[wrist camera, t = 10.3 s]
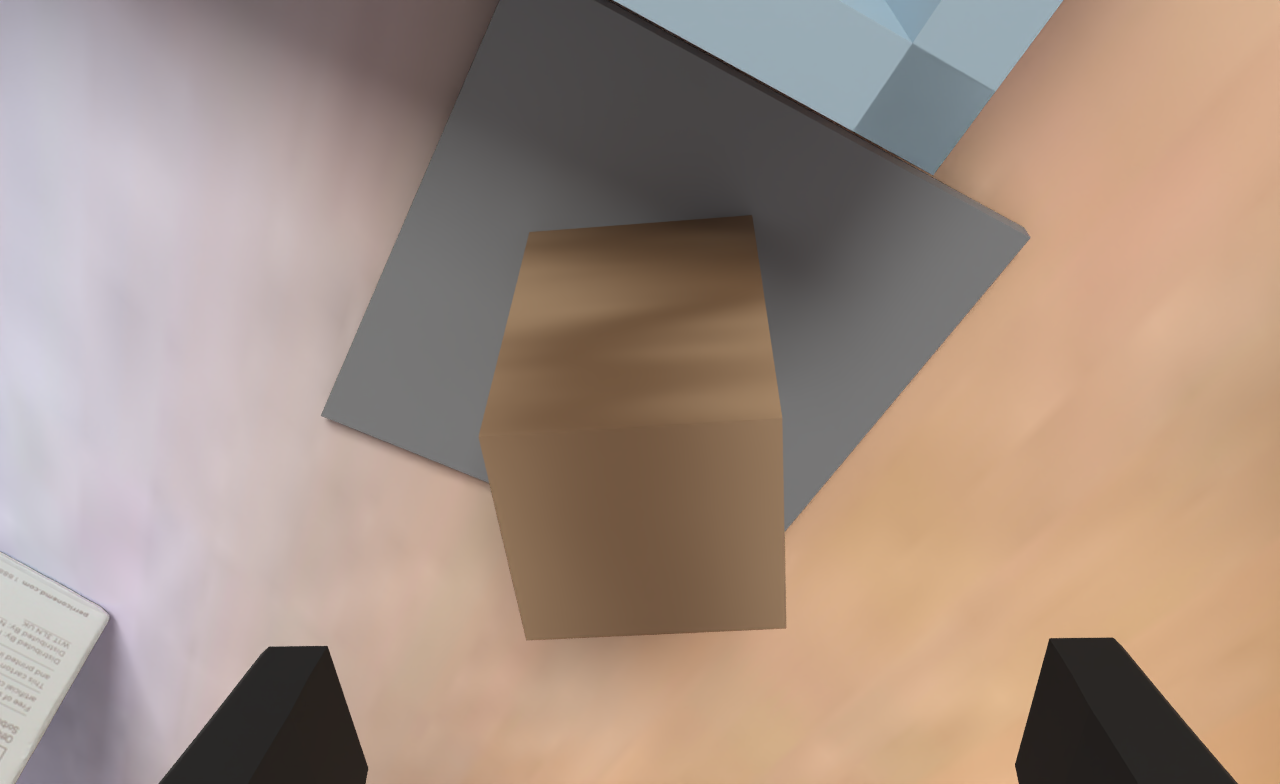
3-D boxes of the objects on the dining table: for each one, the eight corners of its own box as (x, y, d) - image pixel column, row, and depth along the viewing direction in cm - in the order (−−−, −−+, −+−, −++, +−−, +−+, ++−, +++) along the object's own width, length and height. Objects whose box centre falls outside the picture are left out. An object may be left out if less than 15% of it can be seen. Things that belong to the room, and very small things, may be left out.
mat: (1023, 227, 19) (1030, 237, 18) (739, 571, 24) (740, 583, 23) (520, -48, 16) (517, -42, 16) (326, 404, 21) (321, 415, 21)
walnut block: (751, 214, 18) (782, 418, 13) (758, 398, 20) (786, 628, 16) (529, 232, 18) (479, 436, 14) (560, 410, 21) (526, 640, 16)
